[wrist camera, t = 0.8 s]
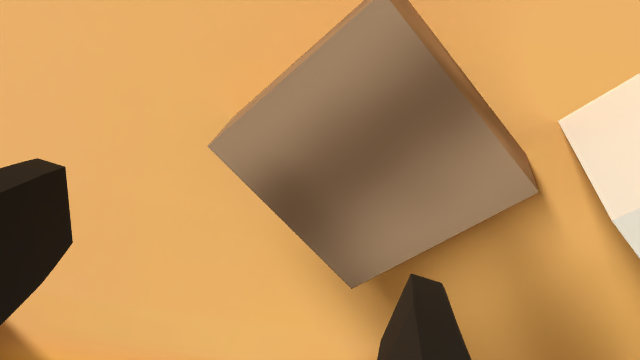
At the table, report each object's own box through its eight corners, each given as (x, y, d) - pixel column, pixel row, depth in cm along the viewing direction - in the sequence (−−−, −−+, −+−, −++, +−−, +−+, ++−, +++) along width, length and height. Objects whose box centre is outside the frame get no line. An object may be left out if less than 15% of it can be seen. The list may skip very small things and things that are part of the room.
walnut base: (524, 149, 18) (538, 192, 15) (361, 242, 22) (351, 288, 19) (391, -25, 16) (382, -9, 13) (236, 113, 19) (207, 146, 17)
